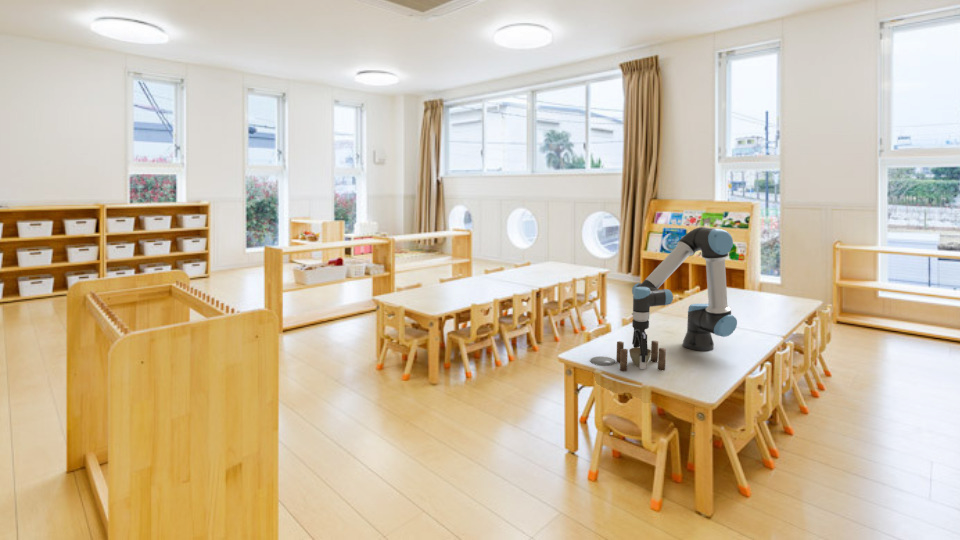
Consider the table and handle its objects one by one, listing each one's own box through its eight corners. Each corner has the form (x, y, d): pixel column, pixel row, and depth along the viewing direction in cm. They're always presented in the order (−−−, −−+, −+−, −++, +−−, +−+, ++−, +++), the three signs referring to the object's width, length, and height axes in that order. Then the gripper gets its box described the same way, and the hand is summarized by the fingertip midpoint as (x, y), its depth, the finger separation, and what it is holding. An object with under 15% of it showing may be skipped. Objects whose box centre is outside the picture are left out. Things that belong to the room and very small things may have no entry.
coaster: (612, 357, 263) (612, 356, 263) (618, 365, 252) (618, 364, 252) (588, 357, 264) (588, 356, 264) (593, 365, 252) (593, 365, 252)
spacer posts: (656, 359, 258) (657, 340, 257) (666, 370, 244) (667, 350, 242) (613, 360, 259) (613, 341, 257) (620, 371, 244) (621, 350, 242)
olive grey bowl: (633, 359, 258) (634, 345, 257) (653, 363, 252) (654, 349, 251) (625, 365, 251) (625, 351, 250) (645, 370, 245) (646, 355, 243)
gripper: (626, 313, 259) (625, 356, 263) (639, 326, 236) (638, 373, 240) (641, 313, 259) (640, 356, 263) (656, 326, 236) (654, 372, 240)
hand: (639, 364), depth 251 cm, fingers closed on olive grey bowl, 10 cm apart
